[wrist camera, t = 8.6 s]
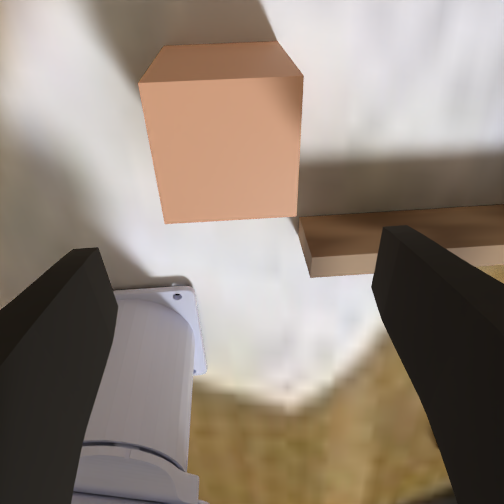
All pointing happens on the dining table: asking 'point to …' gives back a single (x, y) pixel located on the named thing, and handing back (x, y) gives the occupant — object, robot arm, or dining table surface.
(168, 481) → the robot arm
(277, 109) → the block
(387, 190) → the dining table surface
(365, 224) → the open box
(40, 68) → the dining table surface
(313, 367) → the dining table surface
